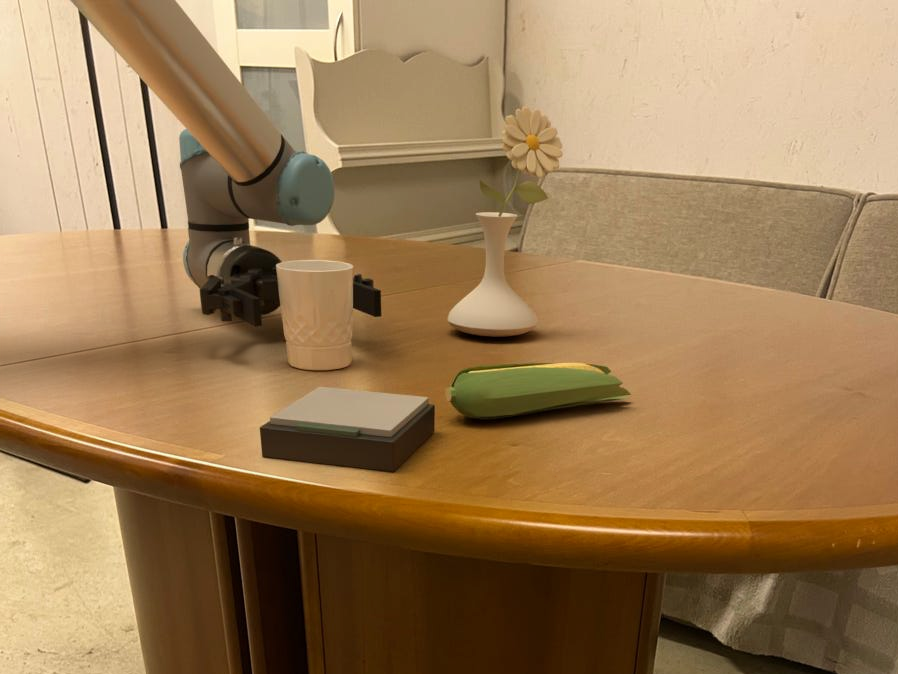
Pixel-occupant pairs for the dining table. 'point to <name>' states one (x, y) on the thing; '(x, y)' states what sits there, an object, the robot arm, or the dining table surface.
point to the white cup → (316, 312)
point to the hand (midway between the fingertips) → (319, 308)
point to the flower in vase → (493, 299)
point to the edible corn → (530, 388)
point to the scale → (349, 428)
